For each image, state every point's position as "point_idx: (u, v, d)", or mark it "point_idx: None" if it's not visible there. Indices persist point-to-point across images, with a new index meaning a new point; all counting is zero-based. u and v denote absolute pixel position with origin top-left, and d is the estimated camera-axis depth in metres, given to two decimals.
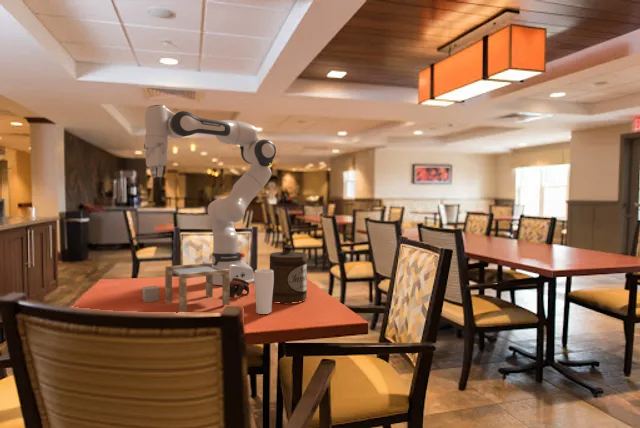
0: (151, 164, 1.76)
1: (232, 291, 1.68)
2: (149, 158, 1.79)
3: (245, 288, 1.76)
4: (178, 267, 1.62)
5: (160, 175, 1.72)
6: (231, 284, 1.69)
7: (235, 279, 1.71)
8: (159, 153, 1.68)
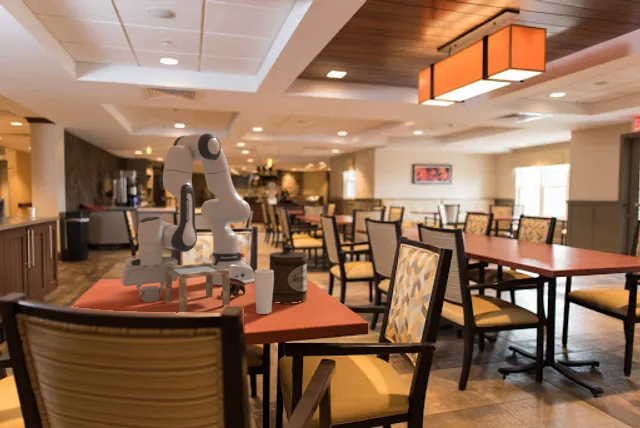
0: (149, 282, 1.61)
1: None
2: (139, 275, 1.59)
3: (241, 288, 1.76)
4: (178, 267, 1.62)
5: None
6: None
7: (231, 279, 1.71)
8: None
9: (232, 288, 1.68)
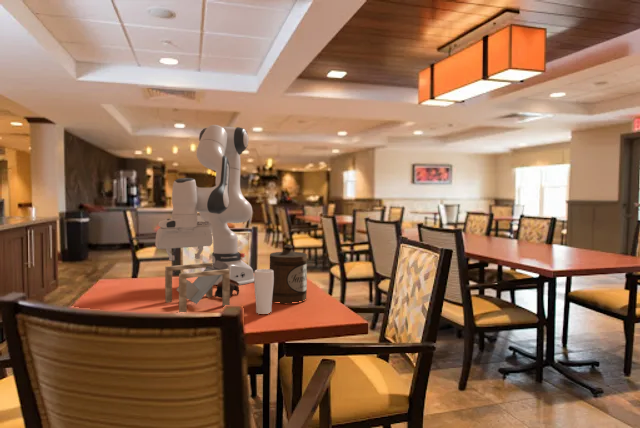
0: (183, 245, 1.53)
1: None
2: (174, 238, 1.51)
3: (235, 288, 1.75)
4: (178, 267, 1.62)
5: None
6: (221, 284, 1.69)
7: None
8: None
9: None
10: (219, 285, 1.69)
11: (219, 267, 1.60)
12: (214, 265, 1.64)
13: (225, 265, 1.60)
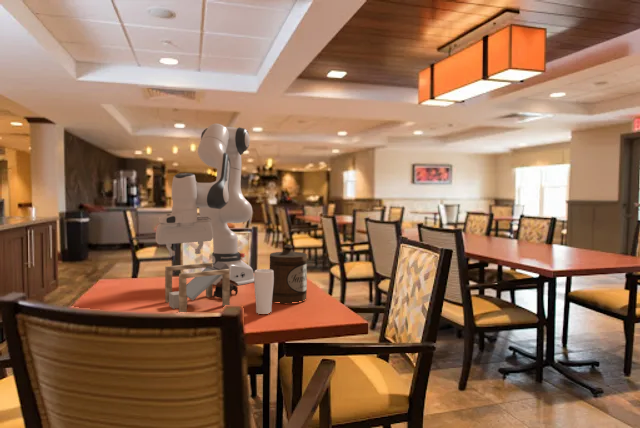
0: (183, 241, 1.53)
1: (221, 291, 1.67)
2: (174, 234, 1.51)
3: (233, 288, 1.75)
4: (178, 267, 1.62)
5: None
6: (220, 284, 1.69)
7: None
8: (211, 228, 1.59)
9: None
10: (218, 285, 1.69)
11: (220, 267, 1.60)
12: (215, 265, 1.64)
13: (226, 266, 1.60)
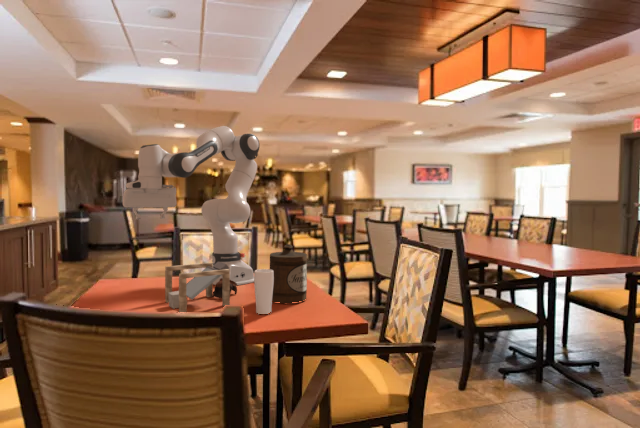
0: (148, 205, 1.68)
1: (221, 291, 1.67)
2: (140, 198, 1.66)
3: (233, 288, 1.75)
4: (178, 267, 1.62)
5: None
6: (219, 284, 1.68)
7: None
8: (175, 196, 1.74)
9: None
10: (217, 285, 1.69)
11: (220, 267, 1.60)
12: (215, 265, 1.64)
13: (226, 266, 1.60)
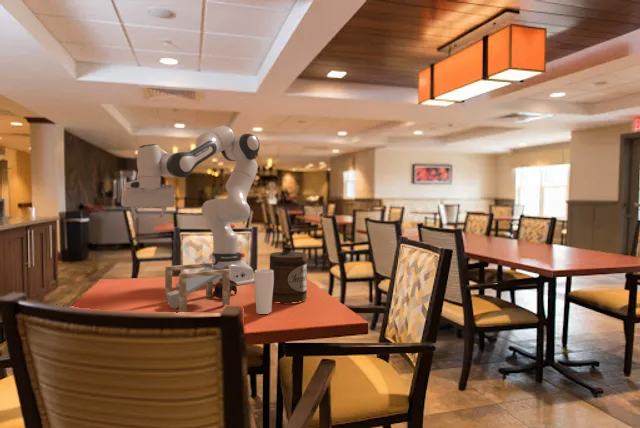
0: (147, 205, 1.69)
1: (221, 291, 1.67)
2: (138, 198, 1.67)
3: (232, 288, 1.75)
4: (178, 267, 1.62)
5: None
6: (219, 284, 1.68)
7: None
8: None
9: None
10: (217, 285, 1.69)
11: (220, 268, 1.60)
12: (215, 266, 1.65)
13: (226, 268, 1.61)
